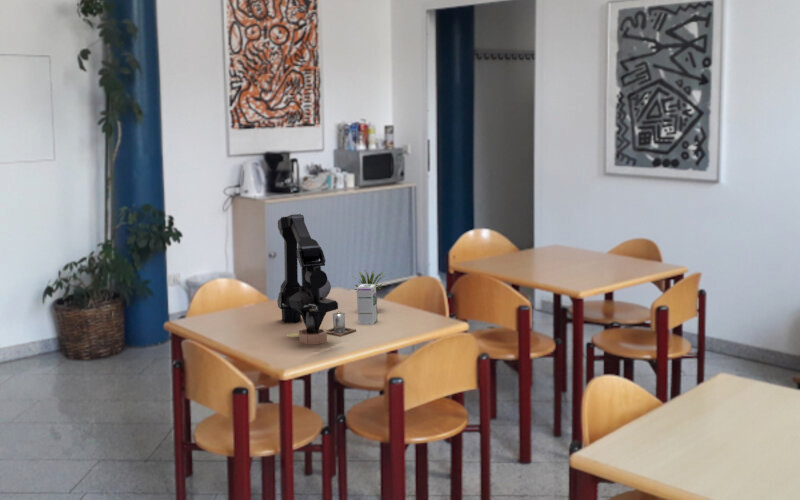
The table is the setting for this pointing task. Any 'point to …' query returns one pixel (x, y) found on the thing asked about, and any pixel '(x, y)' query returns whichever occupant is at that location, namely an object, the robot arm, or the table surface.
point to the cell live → (339, 322)
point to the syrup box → (367, 304)
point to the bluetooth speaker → (324, 292)
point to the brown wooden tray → (341, 333)
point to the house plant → (370, 280)
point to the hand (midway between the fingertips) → (312, 328)
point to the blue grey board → (295, 334)
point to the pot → (313, 337)
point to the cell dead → (310, 322)
